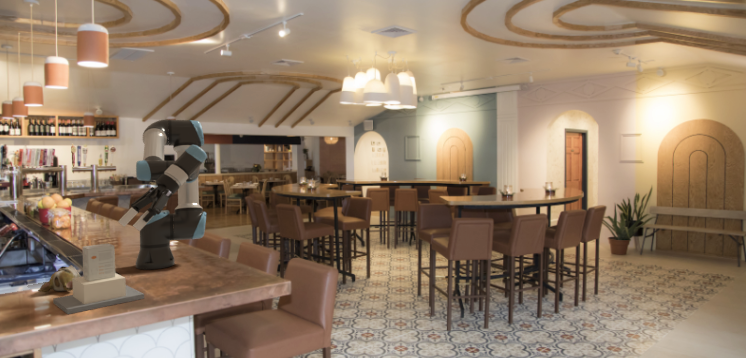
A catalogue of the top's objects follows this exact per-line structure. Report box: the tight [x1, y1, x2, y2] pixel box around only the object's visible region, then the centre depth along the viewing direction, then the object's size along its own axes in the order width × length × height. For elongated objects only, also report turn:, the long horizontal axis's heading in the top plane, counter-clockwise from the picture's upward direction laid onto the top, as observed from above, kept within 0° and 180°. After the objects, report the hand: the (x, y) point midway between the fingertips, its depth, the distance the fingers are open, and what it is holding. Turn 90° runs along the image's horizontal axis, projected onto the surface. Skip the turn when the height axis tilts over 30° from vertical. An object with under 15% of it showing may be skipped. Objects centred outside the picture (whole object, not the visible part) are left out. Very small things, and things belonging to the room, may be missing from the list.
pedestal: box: [52, 272, 145, 315], centre depth 154 cm, size 16×22×8 cm
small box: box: [82, 242, 116, 281], centre depth 154 cm, size 8×6×10 cm
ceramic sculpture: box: [37, 264, 81, 293], centre depth 167 cm, size 11×9×15 cm
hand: (128, 226), depth 160 cm, fingers open, 13 cm apart
